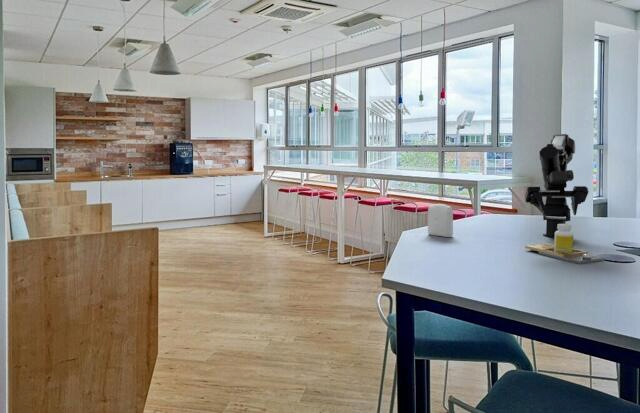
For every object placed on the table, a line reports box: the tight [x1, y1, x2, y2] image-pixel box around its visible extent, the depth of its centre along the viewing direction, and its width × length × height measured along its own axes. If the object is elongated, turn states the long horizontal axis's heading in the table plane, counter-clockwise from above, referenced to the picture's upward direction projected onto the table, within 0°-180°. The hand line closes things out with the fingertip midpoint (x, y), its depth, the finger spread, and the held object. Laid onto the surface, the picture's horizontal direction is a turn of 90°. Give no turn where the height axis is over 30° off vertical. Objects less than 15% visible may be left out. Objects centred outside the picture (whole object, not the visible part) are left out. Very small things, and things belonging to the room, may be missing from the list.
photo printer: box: [427, 203, 454, 238], centre depth 205 cm, size 10×4×12 cm, turn 39°
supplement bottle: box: [553, 223, 574, 254], centre depth 167 cm, size 5×5×10 cm
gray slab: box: [524, 242, 606, 265], centre depth 167 cm, size 22×10×2 cm, turn 22°
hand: (560, 214), depth 171 cm, fingers open, 9 cm apart
